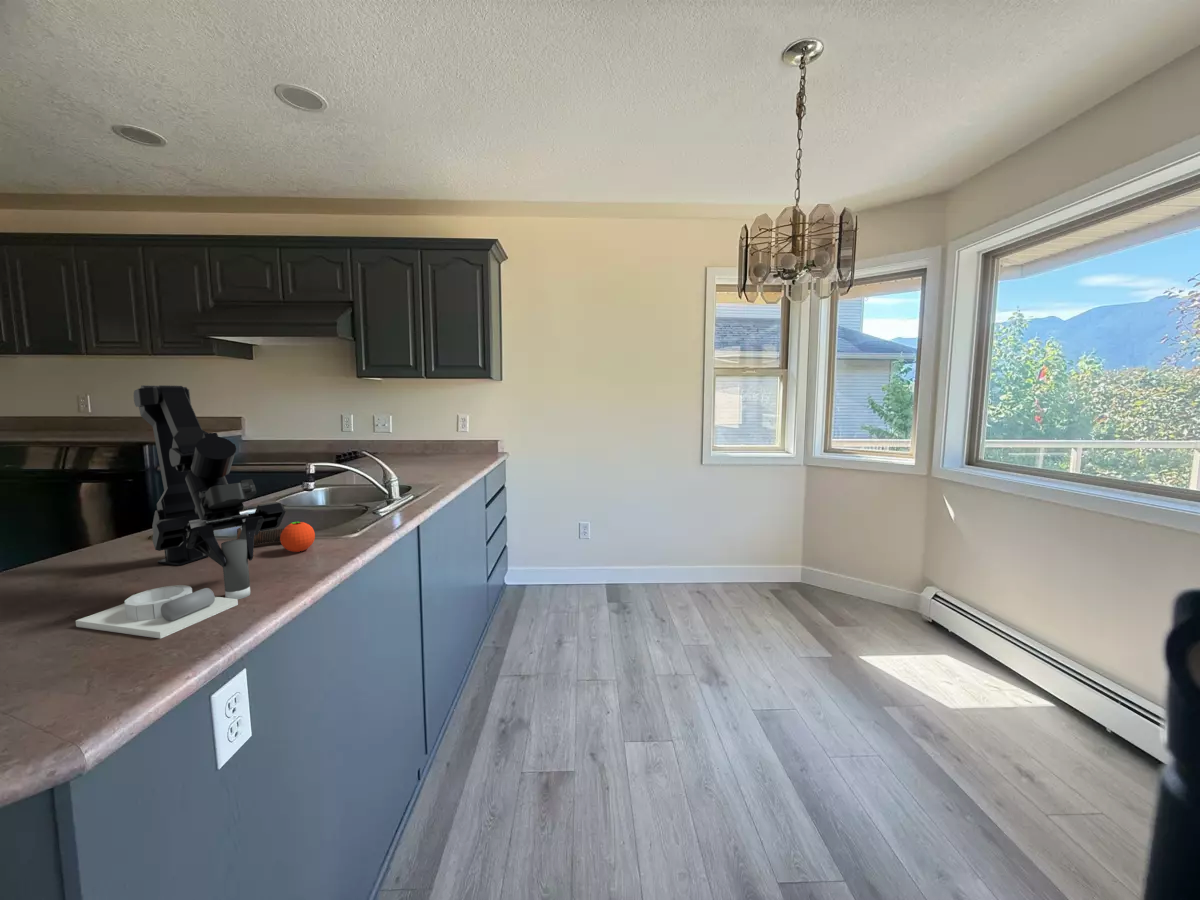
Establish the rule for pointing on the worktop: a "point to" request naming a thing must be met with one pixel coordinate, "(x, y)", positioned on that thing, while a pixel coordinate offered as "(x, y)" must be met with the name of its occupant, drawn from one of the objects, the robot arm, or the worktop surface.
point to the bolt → (265, 536)
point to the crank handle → (236, 569)
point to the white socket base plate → (159, 611)
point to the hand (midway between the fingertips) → (238, 562)
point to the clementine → (297, 536)
